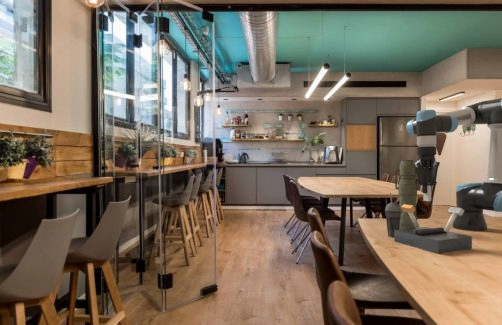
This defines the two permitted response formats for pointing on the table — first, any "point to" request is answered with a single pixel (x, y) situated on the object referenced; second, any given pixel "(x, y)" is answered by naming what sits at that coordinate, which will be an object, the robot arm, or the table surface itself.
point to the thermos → (407, 191)
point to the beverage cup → (392, 217)
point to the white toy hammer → (453, 217)
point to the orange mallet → (410, 213)
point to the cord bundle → (429, 231)
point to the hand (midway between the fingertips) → (427, 200)
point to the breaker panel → (433, 240)
